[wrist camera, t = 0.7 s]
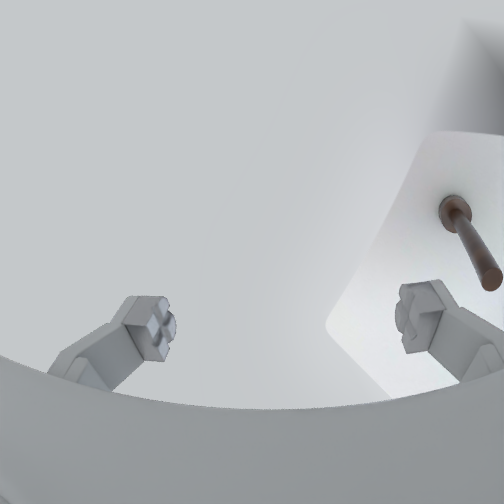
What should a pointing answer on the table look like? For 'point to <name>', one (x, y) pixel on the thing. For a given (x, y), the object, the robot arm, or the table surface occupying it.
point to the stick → (470, 241)
